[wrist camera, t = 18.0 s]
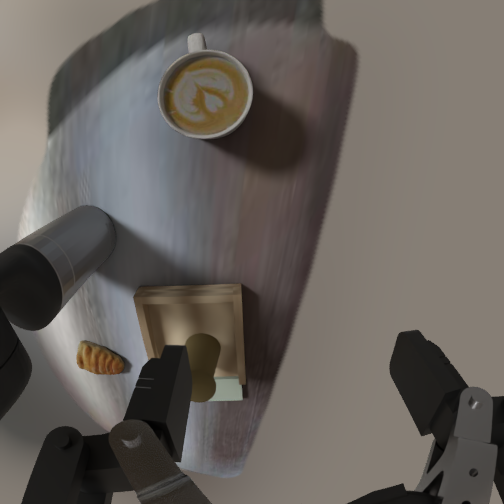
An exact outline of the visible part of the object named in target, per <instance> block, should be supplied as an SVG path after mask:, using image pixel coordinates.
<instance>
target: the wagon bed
mask: <svg viewBox="0 0 504 504" xmlns="http://www.w3.org/2000/svg"><path fill="white" fill-rule="evenodd" d="M133 298H134V303H135V307H136V312H137V316H138V320H139V325H140V329H141V333H142V337H143V341H144V345H145V348H146V352H147V356H148V360H150V359H151V358H161V354H162V351H163V348H164V346H165V345H185V343H186V340H187V339H188V338H189V337H190V336H192V335H194V334H198V333H204V334H209V335H211V336H213V337H214V338H216V339H217V340H218V342H219V343H220V346H221V351H220V355H219V359H218V363H217V367H216V370H215V374H214V377H225V376H238V377H239V385H246V375H245V355H244V335H243V314H242V293H241V283H240V284H215V285H185V286H144V287H139V288H138V290H137V292H136V293H135V295H134V297H133Z"/></svg>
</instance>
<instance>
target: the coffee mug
mask: <svg viewBox="0 0 504 504" xmlns="http://www.w3.org/2000/svg"><path fill="white" fill-rule="evenodd" d="M188 49H189V53H188V54H186V55H184V56H182V57H180V58H179V59H177V60H176V61H175V62H174V63H172V64H171V65H170V67H169V68H168V69H167V70H166V72H165V73H164V75H163V77H162V79H161V81H160V84H159V88H158V105H159V109H160V112H161V114H162V116H163V118H164V119H165V121H166V122H167V123H168V124H169V125H170V126H171V127H172V128H173V129H174V130H175V131H177V132H179V133H180V134H182V135H184V136H187V137H191V138H195V139H217V138H221V137H224V136H227V135H229V134H231V133H232V132H234V131H235V130H236V129H237V128H238V127H239V126H240V125H241V124H242V123H243V121H244V120H245V118H246V116H247V114H248V112H249V109H250V107H251V104H252V99H253V85H252V81H251V78H250V75H249V73H248V71H247V70H246V68H245V67H244V66H243V65H242V64H241V63H240V61H238V60H237V59H236V58H234V57H233V56H231V55H229V54H227V53H224V52H221V51H217V50H207V47H206V42H205V38H204V36H203V34H201V33H195V34H192V35H190V36H189V37H188Z"/></svg>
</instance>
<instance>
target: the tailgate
mask: <svg viewBox="0 0 504 504" xmlns="http://www.w3.org/2000/svg"><path fill="white" fill-rule="evenodd" d="M214 379H215V382H216V392H215V394H214V396H213V397H212V398H211V399H210V400H208V401H232V400H243V397H242V385H239V377H238V376H225V377H214Z"/></svg>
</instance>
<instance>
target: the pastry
mask: <svg viewBox="0 0 504 504" xmlns="http://www.w3.org/2000/svg"><path fill="white" fill-rule="evenodd" d="M77 364H78V366H79V368H81V369H85V370H87V371H89V372H93V373H94V374H109V375H111V374H113V375H114V374H119V373H120V372H122V370H123V369H124V362H123V360H122V359H121V357H120V356H118V355H117V354H114V353H113V352H111V351H110V350H109V349H107V348H106V347H102V346H100V345H98V344H95V343H93V342H89V341H81V342H80V343H79V346H78V353H77Z"/></svg>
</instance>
